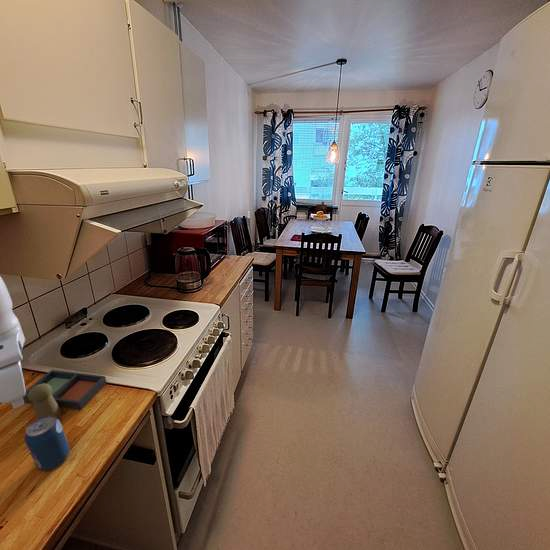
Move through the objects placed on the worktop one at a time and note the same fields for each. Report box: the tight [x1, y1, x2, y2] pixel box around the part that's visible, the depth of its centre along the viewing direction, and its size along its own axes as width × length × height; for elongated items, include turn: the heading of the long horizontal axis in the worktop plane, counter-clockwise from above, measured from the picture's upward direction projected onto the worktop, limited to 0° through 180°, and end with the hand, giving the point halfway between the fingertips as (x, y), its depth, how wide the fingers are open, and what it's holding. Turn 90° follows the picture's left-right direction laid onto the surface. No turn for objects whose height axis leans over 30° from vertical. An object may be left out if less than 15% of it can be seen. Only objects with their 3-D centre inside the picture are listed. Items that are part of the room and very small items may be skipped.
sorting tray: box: [23, 369, 108, 411], centre depth 92 cm, size 20×12×3 cm, turn 82°
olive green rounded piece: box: [28, 383, 63, 420], centre depth 82 cm, size 6×6×11 cm
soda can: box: [23, 415, 71, 472], centre depth 70 cm, size 7×7×12 cm
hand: (16, 392), depth 64 cm, fingers open, 8 cm apart
